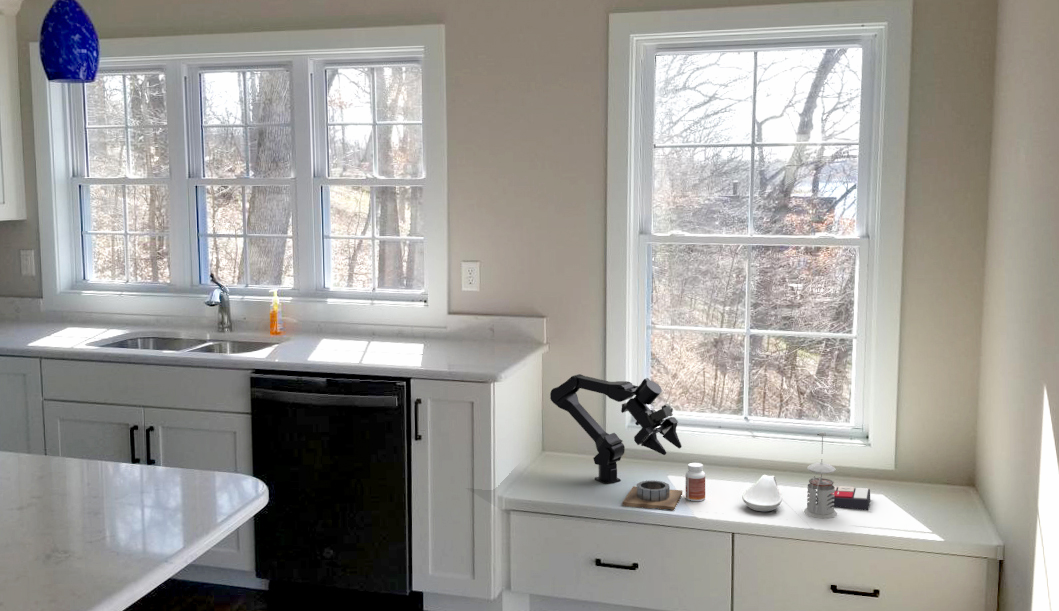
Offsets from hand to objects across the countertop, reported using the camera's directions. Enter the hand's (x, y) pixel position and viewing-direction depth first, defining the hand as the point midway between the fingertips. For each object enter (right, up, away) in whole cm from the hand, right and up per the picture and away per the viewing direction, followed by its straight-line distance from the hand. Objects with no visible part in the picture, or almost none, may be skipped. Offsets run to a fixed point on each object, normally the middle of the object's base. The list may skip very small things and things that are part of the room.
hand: (673, 450), depth 309 cm
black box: (+52, -15, -7) cm, 55 cm away
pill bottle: (+7, -15, -2) cm, 17 cm away
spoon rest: (+27, -15, -6) cm, 32 cm away
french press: (+41, -16, -17) cm, 48 cm away
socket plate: (-7, -15, -3) cm, 17 cm away
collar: (-7, -14, -3) cm, 16 cm away
